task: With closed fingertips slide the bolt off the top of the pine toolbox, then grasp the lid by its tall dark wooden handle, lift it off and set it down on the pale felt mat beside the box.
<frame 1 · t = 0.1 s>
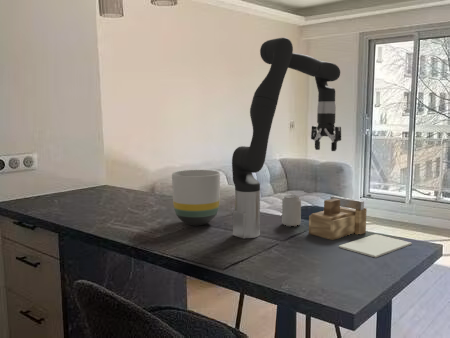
hand: (325, 150, 188), 29 cm above the counter, fingers open, 8 cm apart
can: (291, 225, 178), on the counter
toolbox: (335, 232, 166), on the counter
lid: (335, 216, 165), point 6 cm above the counter, touching toolbox
planter: (196, 224, 181), on the counter
bolt: (346, 202, 169), point 11 cm above the counter, slide at 0.0 cm
mat: (375, 245, 150), on the counter
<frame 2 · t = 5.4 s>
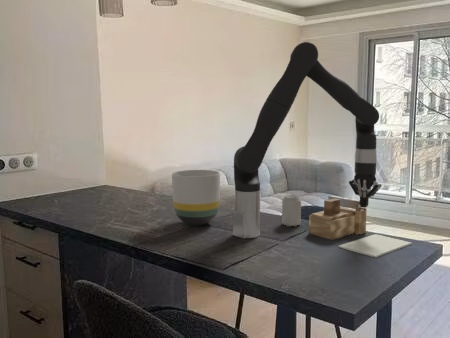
hand: (363, 207, 163), 10 cm above the counter, fingers closed
bolt: (344, 202, 170), point 11 cm above the counter, slide at 1.1 cm, touching gripper
everything else where it was.
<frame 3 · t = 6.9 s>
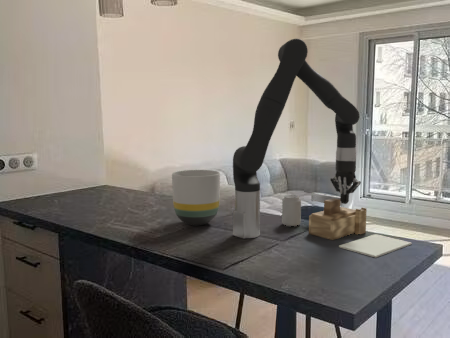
hand: (344, 203, 169), 10 cm above the counter, fingers closed
bolt: (326, 198, 176), point 11 cm above the counter, slide at 9.7 cm, touching gripper
everything else where it was.
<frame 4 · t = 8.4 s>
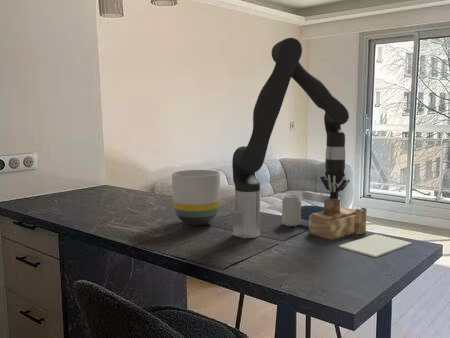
hand: (334, 201, 173), 10 cm above the counter, fingers closed
bolt: (316, 197, 180), point 11 cm above the counter, slide at 14.7 cm, touching gripper
everything else where it was.
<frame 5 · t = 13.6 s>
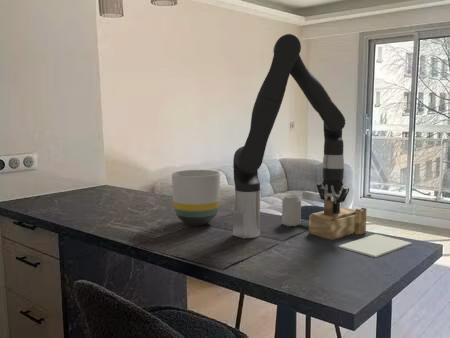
hand: (332, 212, 163), 8 cm above the counter, fingers closed on lid, 3 cm apart
lid: (335, 216, 165), point 6 cm above the counter, touching gripper, toolbox
bolt: (316, 197, 180), point 11 cm above the counter, slide at 14.7 cm
everything else where it was.
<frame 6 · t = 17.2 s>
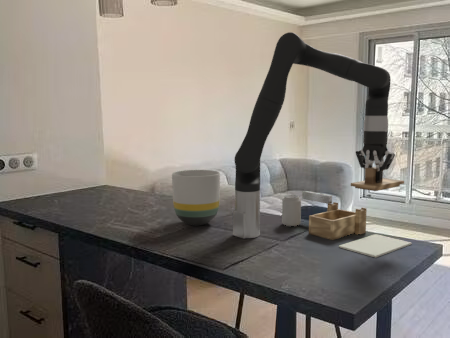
hand: (373, 181, 145), 23 cm above the counter, fingers closed on lid, 2 cm apart
lid: (377, 187, 147), point 20 cm above the counter, touching gripper
everything else where it was.
when the fingers open (4 cm above the counter, at t = 20.6 s): lid drops 2 cm, resting on mat.
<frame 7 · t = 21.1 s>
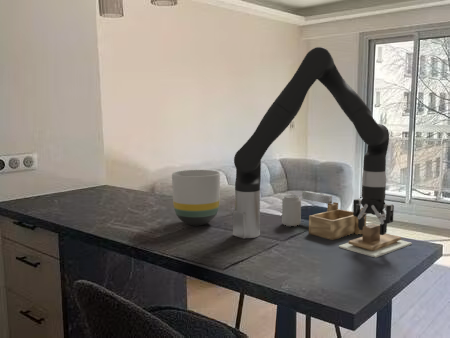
hand: (371, 232, 147), 5 cm above the counter, fingers open, 7 cm apart
lid: (375, 244, 150), point 1 cm above the counter, touching mat
everything else where it was.
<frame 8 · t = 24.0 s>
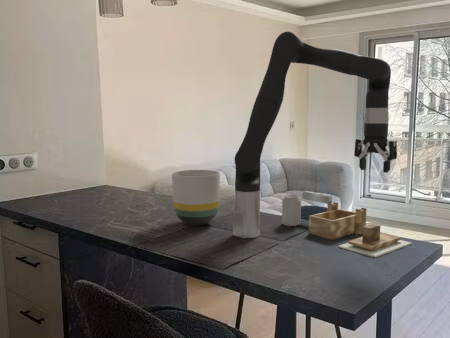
hand: (374, 171, 145), 26 cm above the counter, fingers open, 8 cm apart
nothing on the counter moved.
at the end: bolt slide at 14.7 cm; lid inside the target area (0.2 cm from its centre), point 0.6 cm above the counter; lid tilted 0° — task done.
